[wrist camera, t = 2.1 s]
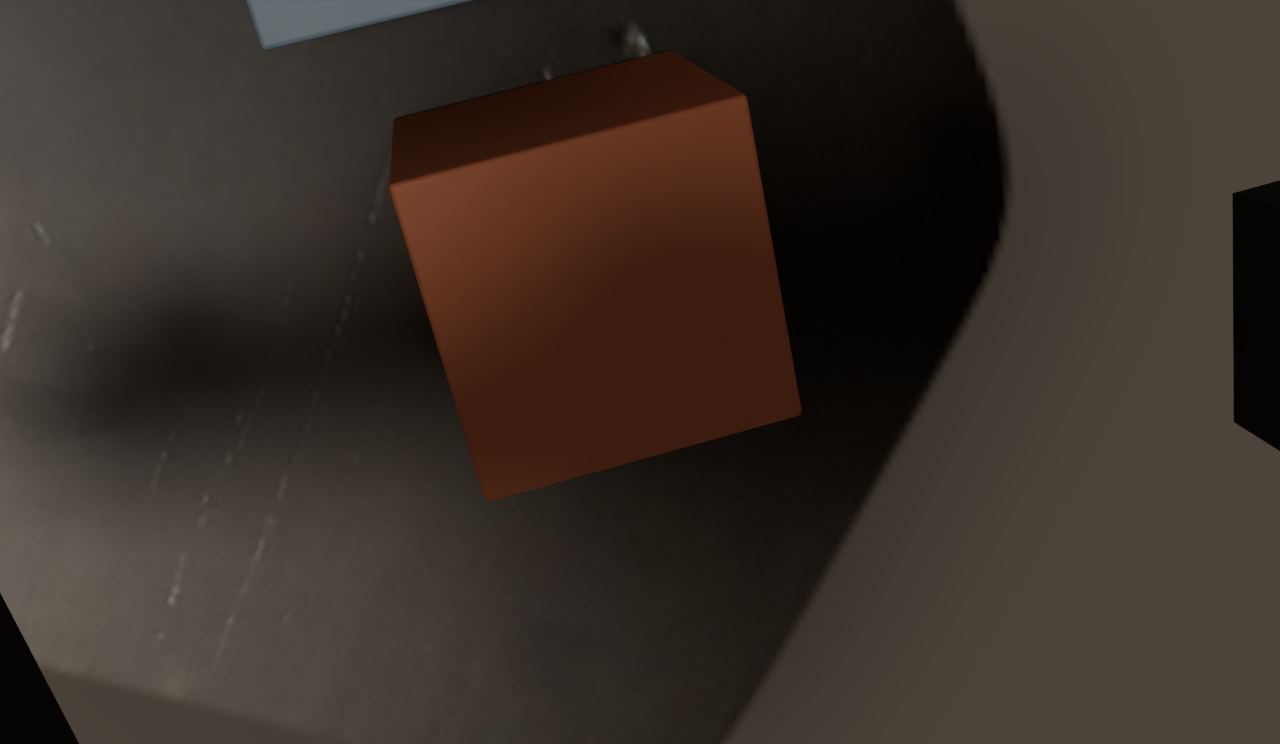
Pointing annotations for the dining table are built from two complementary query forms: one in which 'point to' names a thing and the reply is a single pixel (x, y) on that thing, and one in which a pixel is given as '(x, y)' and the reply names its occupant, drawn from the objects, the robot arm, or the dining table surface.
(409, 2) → the slate-blue block
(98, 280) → the dining table surface
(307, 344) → the dining table surface
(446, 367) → the terracotta block
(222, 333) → the dining table surface
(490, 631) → the dining table surface
